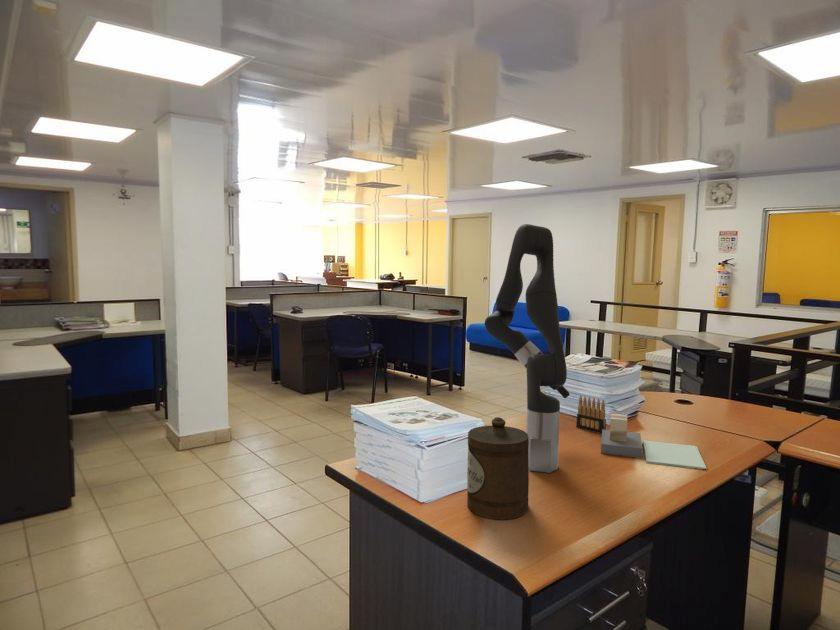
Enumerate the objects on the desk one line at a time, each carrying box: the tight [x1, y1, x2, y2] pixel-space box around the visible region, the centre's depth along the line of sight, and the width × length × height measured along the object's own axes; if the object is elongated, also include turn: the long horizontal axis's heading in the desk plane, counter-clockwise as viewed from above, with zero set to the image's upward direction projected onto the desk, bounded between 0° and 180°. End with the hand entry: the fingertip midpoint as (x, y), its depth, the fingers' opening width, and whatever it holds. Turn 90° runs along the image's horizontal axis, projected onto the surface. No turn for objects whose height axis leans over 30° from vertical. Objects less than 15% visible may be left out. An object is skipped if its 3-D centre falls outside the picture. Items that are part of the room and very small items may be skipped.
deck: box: [600, 429, 644, 459], centre depth 173 cm, size 16×12×3 cm
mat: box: [642, 440, 708, 470], centre depth 166 cm, size 20×16×1 cm
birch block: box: [609, 413, 628, 442], centre depth 173 cm, size 6×5×7 cm
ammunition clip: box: [575, 394, 607, 435], centre depth 191 cm, size 11×2×12 cm, turn 43°
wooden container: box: [466, 416, 530, 521], centre depth 130 cm, size 15×15×22 cm
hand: (567, 396), depth 178 cm, fingers closed
